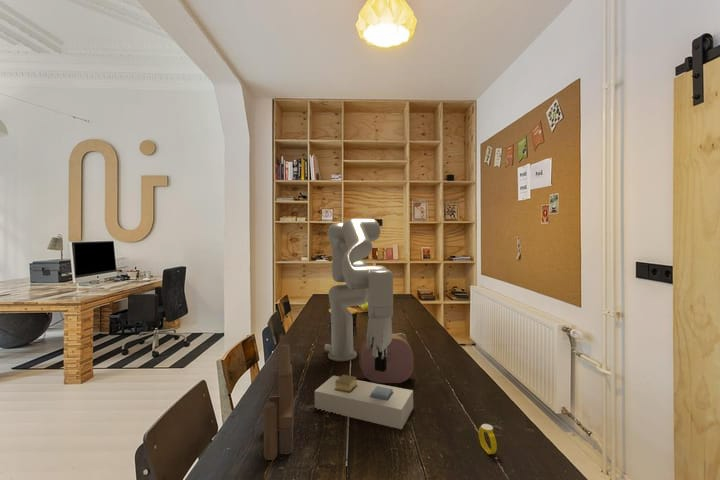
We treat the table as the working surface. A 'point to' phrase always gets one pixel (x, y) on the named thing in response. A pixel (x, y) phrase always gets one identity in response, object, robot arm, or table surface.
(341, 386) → the brass button
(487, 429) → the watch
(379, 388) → the slate-blue button
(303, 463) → the table surface
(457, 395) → the table surface
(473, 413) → the table surface
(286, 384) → the wooden toy
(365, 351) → the face sculpture
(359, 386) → the button console
